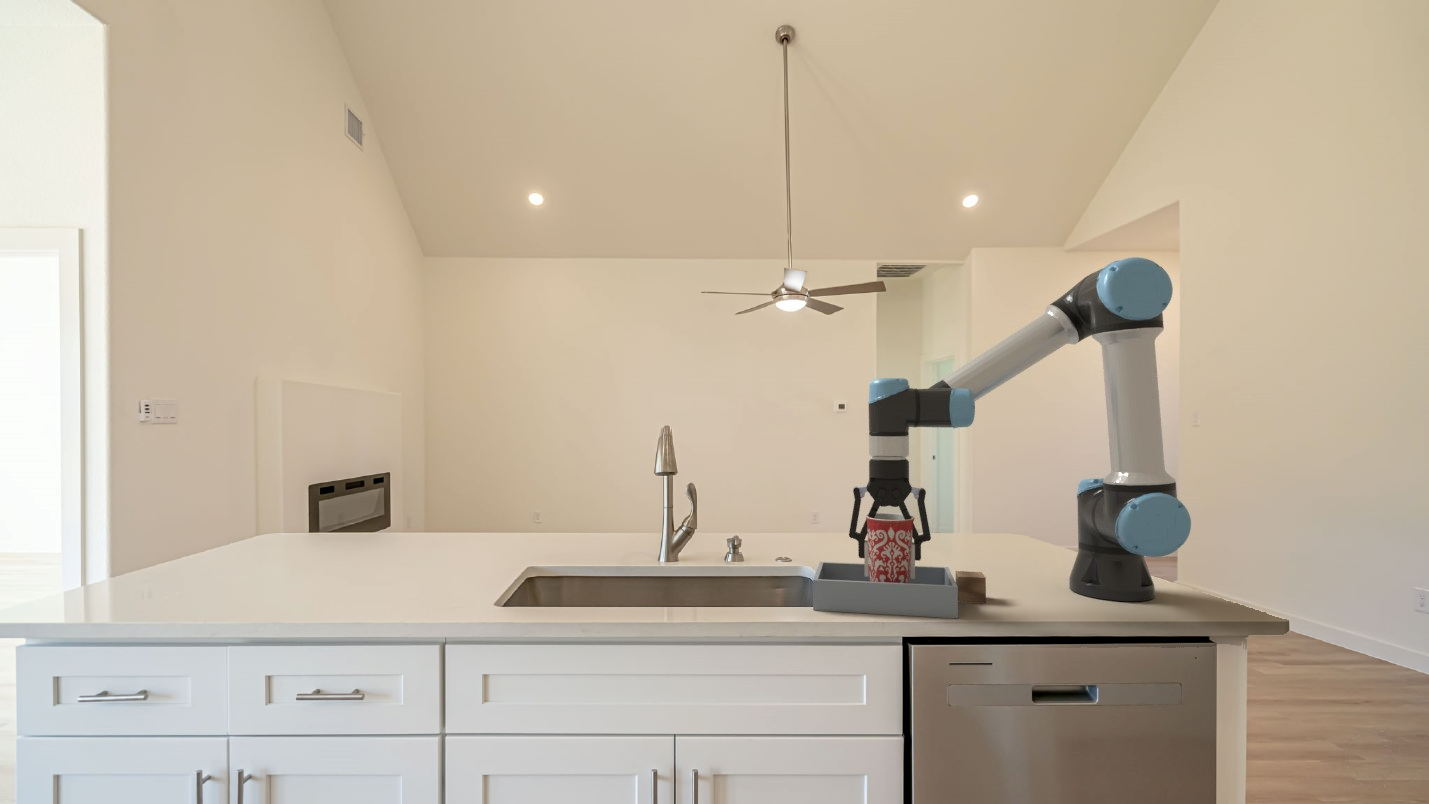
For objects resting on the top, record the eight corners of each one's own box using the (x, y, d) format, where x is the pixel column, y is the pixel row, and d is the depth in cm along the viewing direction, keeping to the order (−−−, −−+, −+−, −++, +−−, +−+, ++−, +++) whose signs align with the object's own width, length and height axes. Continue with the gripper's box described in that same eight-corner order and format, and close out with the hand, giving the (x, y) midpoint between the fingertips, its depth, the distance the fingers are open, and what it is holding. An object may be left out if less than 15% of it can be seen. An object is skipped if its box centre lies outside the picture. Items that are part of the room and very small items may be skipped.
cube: (982, 597, 141) (981, 572, 141) (985, 603, 136) (985, 577, 136) (955, 596, 142) (955, 571, 142) (958, 602, 137) (958, 576, 137)
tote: (948, 595, 142) (948, 567, 142) (957, 618, 126) (957, 586, 126) (820, 588, 148) (819, 561, 148) (813, 610, 132) (813, 579, 132)
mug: (918, 593, 130) (918, 520, 130) (868, 592, 131) (867, 519, 131) (908, 578, 142) (908, 510, 143) (862, 576, 144) (862, 510, 144)
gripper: (943, 457, 139) (943, 574, 138) (835, 456, 143) (836, 569, 143) (946, 460, 131) (947, 583, 131) (833, 458, 136) (833, 577, 135)
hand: (889, 576), depth 137 cm, fingers closed on mug, 8 cm apart
